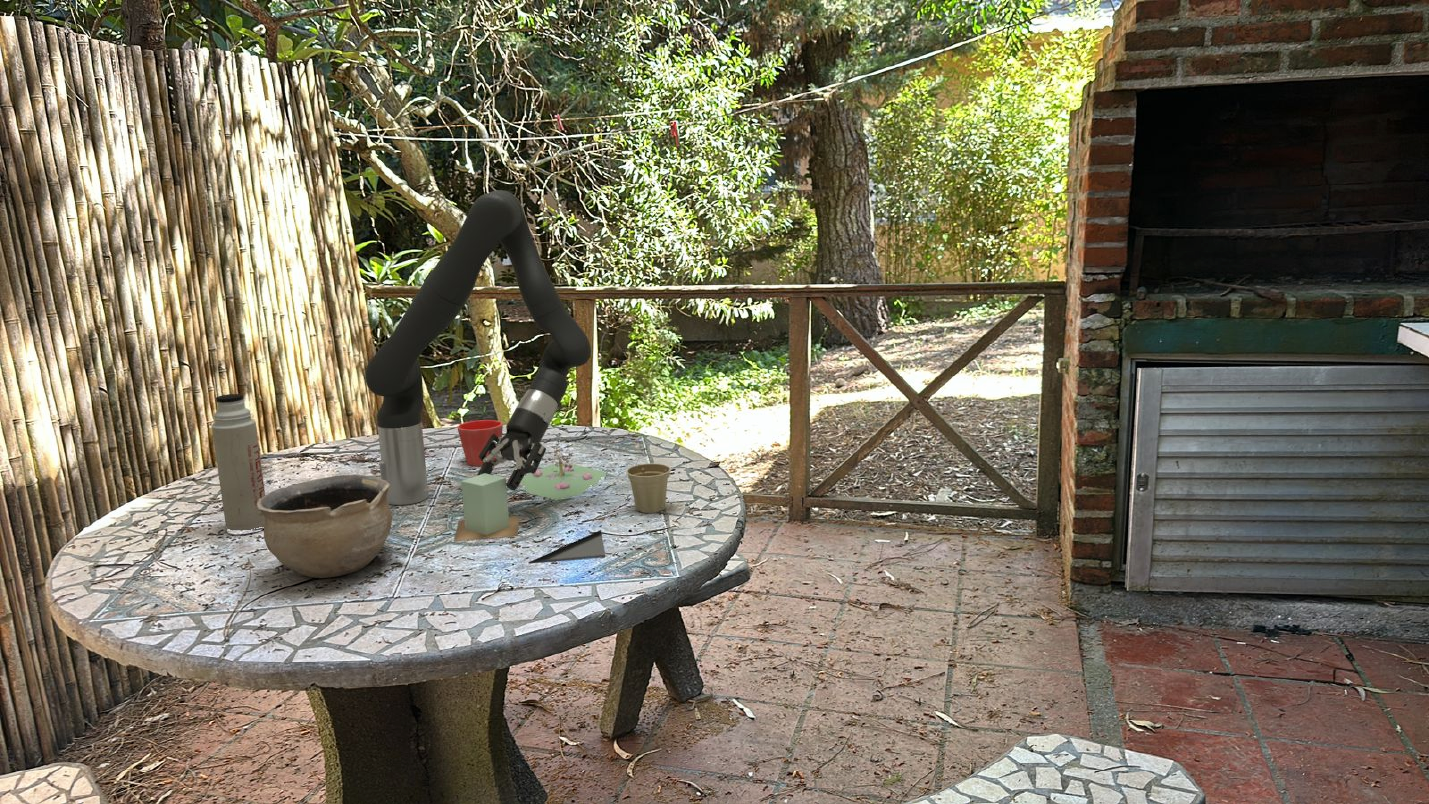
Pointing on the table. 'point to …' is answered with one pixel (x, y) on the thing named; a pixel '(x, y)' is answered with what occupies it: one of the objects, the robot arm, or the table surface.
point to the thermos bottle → (238, 463)
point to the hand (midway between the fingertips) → (494, 485)
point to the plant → (561, 479)
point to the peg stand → (506, 532)
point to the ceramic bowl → (327, 524)
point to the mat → (577, 550)
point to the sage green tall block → (485, 504)
